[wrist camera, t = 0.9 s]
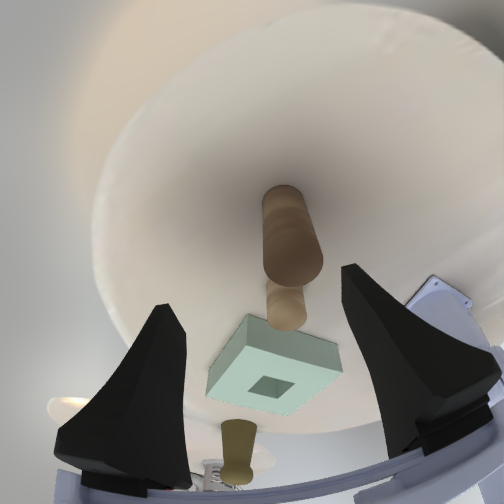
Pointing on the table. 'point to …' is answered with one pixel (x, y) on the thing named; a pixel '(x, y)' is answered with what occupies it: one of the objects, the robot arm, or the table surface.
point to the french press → (214, 469)
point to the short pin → (285, 307)
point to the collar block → (272, 368)
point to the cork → (237, 451)
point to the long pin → (289, 238)
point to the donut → (196, 483)
